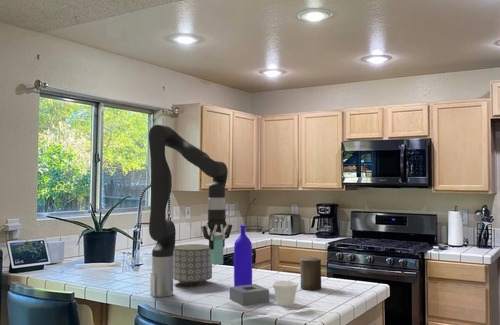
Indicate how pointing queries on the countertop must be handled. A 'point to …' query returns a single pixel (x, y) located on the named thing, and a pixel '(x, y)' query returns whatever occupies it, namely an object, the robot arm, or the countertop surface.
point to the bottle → (242, 259)
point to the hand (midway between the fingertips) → (216, 248)
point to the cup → (285, 292)
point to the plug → (217, 250)
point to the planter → (192, 264)
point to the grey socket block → (249, 294)
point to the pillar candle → (310, 273)
